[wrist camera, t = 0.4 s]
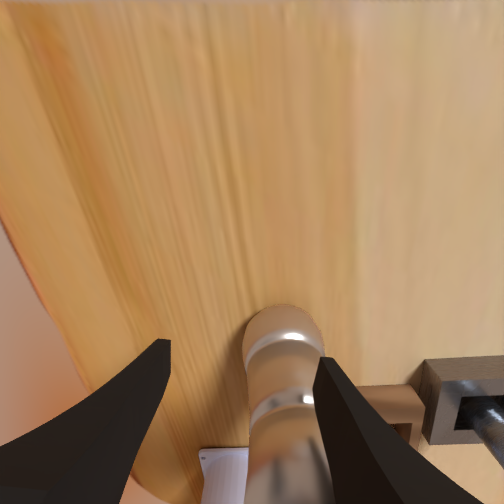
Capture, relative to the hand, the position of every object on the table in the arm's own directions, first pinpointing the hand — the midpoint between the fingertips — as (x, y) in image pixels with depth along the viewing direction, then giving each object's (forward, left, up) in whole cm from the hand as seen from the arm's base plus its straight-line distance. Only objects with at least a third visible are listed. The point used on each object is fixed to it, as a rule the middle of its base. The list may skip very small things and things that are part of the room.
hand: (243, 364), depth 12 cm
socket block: (-14, -20, -10) cm, 26 cm away
